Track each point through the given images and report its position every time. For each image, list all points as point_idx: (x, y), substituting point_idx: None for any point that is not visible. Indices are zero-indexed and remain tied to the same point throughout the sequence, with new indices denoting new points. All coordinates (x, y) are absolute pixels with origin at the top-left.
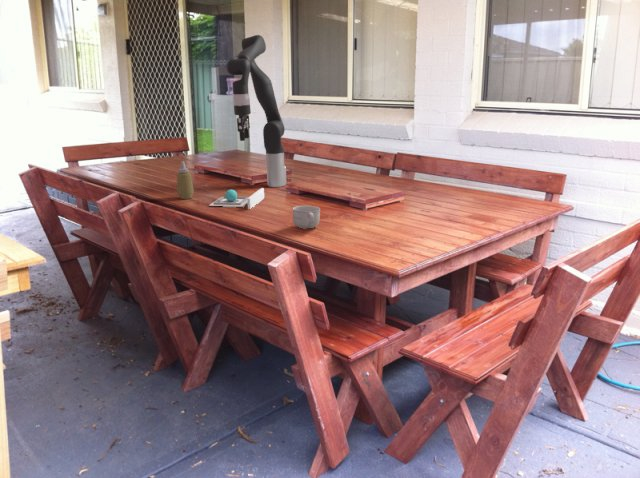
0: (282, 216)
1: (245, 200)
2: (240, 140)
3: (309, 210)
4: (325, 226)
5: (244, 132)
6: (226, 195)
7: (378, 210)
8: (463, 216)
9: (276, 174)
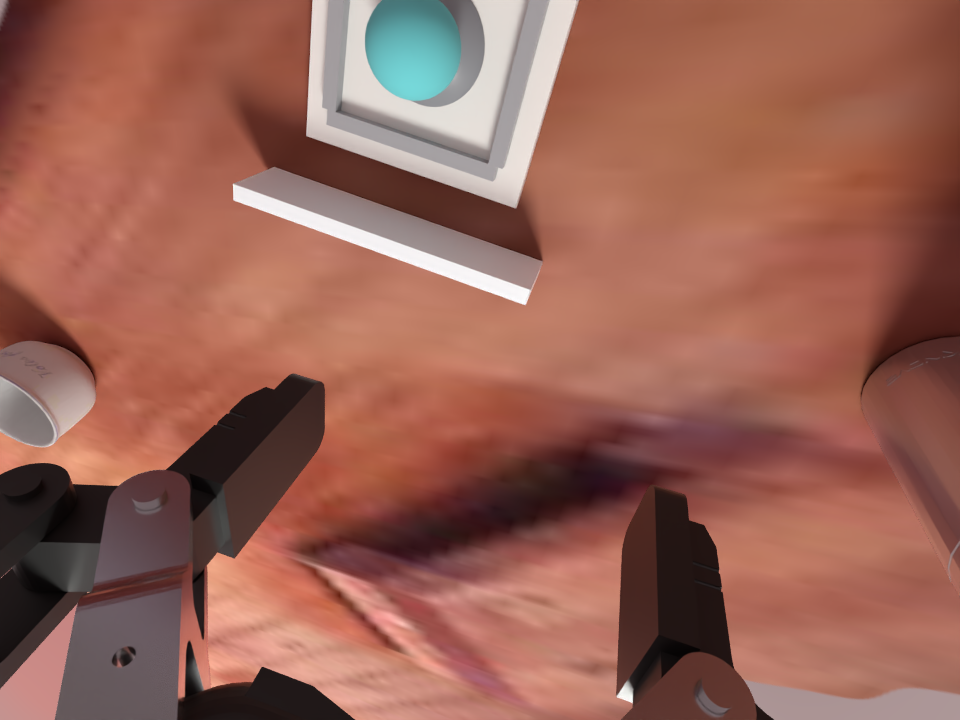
0: (179, 317)
1: (423, 155)
2: (295, 375)
3: (64, 415)
4: (99, 419)
5: (649, 594)
6: (376, 6)
7: (293, 579)
8: (254, 669)
9: (896, 449)
